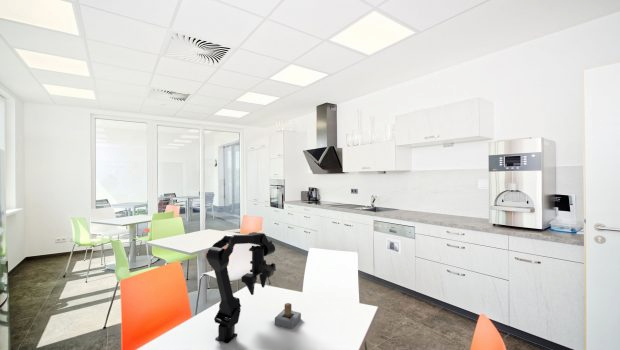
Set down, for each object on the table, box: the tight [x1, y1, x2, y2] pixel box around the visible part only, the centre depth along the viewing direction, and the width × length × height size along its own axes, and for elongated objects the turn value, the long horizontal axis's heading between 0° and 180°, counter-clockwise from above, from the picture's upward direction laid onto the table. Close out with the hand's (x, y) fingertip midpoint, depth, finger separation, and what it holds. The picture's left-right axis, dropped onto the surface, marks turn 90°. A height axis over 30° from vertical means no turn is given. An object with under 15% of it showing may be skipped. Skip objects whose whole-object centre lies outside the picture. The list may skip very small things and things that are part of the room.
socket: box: [274, 308, 302, 330], centre depth 127 cm, size 9×9×3 cm
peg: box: [284, 302, 292, 319], centre depth 127 cm, size 3×3×8 cm
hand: (257, 290), depth 132 cm, fingers open, 9 cm apart
